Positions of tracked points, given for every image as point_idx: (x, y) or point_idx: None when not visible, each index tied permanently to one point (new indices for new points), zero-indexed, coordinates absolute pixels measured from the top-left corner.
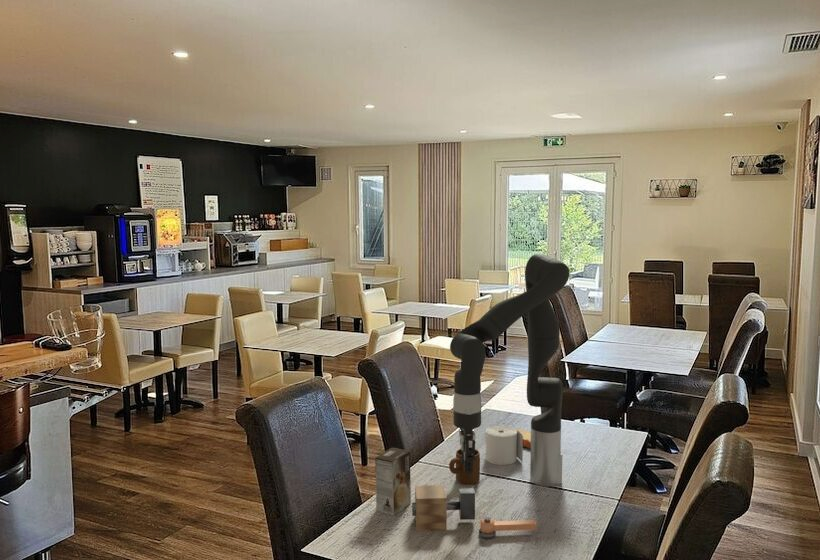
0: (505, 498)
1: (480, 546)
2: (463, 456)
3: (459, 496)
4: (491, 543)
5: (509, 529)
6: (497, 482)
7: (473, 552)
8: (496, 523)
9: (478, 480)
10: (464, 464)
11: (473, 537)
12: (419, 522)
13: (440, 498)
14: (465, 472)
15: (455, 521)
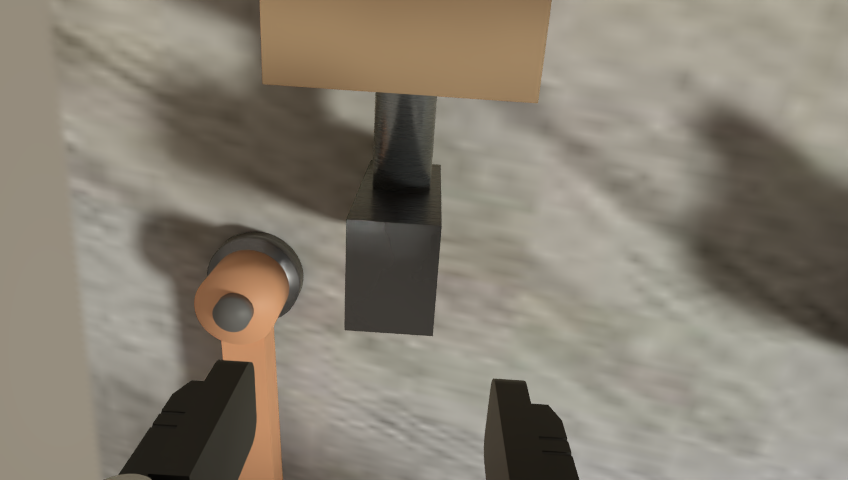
0: (639, 442)
1: (140, 214)
2: (500, 458)
3: (412, 205)
4: (173, 274)
5: None
6: (841, 449)
7: (76, 166)
8: (241, 348)
9: None
10: (193, 423)
11: (233, 197)
12: None
13: (260, 24)
14: (220, 367)
15: None
